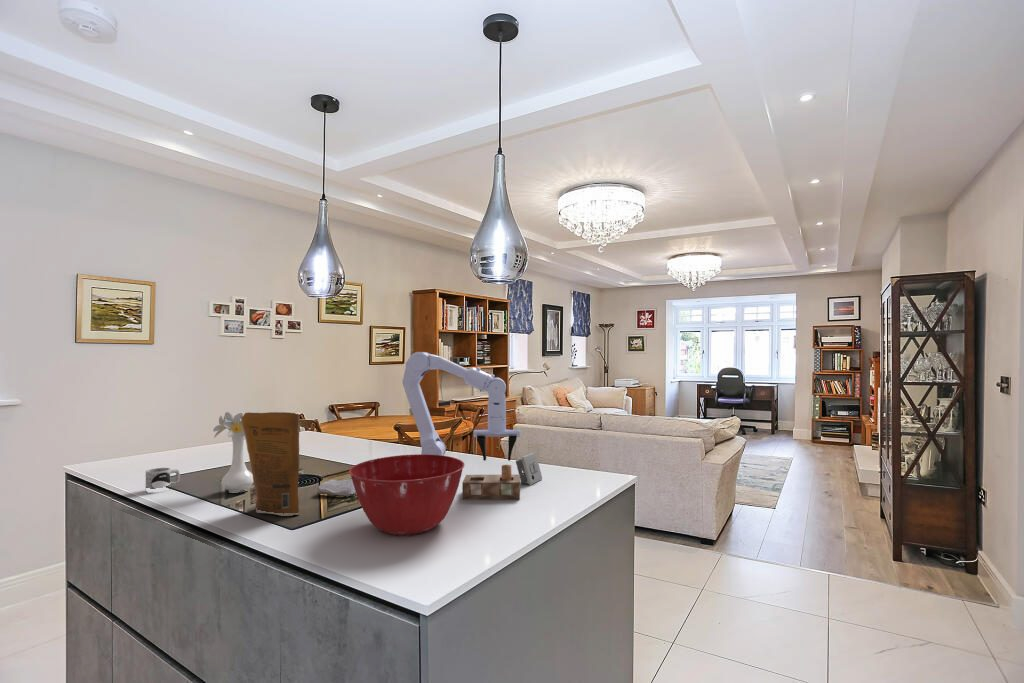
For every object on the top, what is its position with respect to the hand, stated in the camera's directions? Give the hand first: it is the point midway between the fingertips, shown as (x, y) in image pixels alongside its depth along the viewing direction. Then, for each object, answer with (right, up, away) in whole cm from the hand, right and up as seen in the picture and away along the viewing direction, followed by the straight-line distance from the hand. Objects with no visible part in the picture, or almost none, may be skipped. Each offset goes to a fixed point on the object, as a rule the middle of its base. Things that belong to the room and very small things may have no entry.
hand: (497, 459), depth 167 cm
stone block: (-49, -11, -1) cm, 51 cm away
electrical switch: (+10, -10, +12) cm, 19 cm away
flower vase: (-82, -11, +3) cm, 83 cm away
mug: (-109, -11, +6) cm, 109 cm away
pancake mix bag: (-61, -10, -21) cm, 65 cm away
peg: (+3, -9, -5) cm, 10 cm away
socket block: (-1, -10, -4) cm, 11 cm away
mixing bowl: (-22, -10, -33) cm, 40 cm away
